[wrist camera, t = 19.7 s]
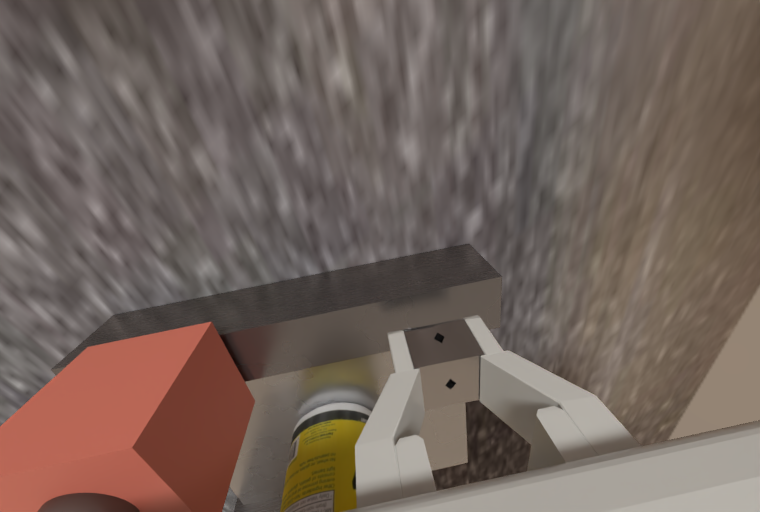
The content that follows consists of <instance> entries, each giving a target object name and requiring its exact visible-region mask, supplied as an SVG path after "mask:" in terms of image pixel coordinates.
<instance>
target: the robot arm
mask: <svg viewBox="0 0 760 512" xmlns="http://www.w3.org/2000/svg"><path fill="white" fill-rule="evenodd" d="M388 341H389V347H390V352H391V358H392V363H393V369H394V374H390V376H389V378H388V380H387V382H386V384H385V386H384V388H383V390H382V392H381V394H380V396H379V398H378V400H377V402H376V404H375V406H374V408H373V410H372V412H371V414H370V416H369V419H368V421H367V423H366V425H365V427H364V429H363V431H362V433H361V435H360V437H359V439H358V441H357V443H356V445H355V464H356V497H357V508H356V509H352V510H347V511H343V512H760V420H759V421H755V422H749V423H745V424H740V425H736V426H731V427H727V428H722V429H718V430H713V431H708V432H704V433H699V434H695V435H691V436H686V437H681V438H677V439H672V440H667V441H663V442H658V443H654V444H649V445H645V446H641V445H640V444H639V443H638V442H637V441H636V440H635V438H634V437H633V436H632V435H631V434H630V433H629V432H628V431H627V430H626V428H625V427H624V426H623V425H622V424H621V423H620V422H619V421H618V420H617V418H616V417H615V416H614V415H613V414H612V413H611V412H610V411H609V410H608V408H607V407H606V406H605V405H604V404H603V403H602V402H601V401H600V400H599V398H598V397H597V396H596V395H594V394H592V393H590V392H588V391H586V390H584V389H582V388H580V387H578V386H576V385H574V384H572V383H570V382H569V381H567V380H565V379H563V378H561V377H559V376H557V375H555V374H553V373H551V372H549V371H547V370H545V369H543V368H542V367H540V366H538V365H536V364H534V363H532V362H530V361H528V360H526V359H524V358H522V357H520V356H518V355H516V354H515V353H513V352H511V351H509V350H508V351H503V349H502V348H501V347H500V345H499V344H498V342H497V341H496V339H495V338H494V336H493V335H492V333H491V332H490V331H489V329H488V328H487V326H486V325H485V323H484V322H483V320H482V319H481V318H480V316H478V315H475V316H471V317H466V318H462V319H457V320H452V321H448V322H443V323H438V324H433V325H427V326H422V327H416V328H410V329H404V330H400V331H394V332H389V333H388ZM476 400H480V402H481V403H482V404H483V405H485V406H486V407H487V408H488V409H489V410H491V411H492V412H493V413H494V414H495V415H496V416H498V417H499V418H500V419H501V420H502V421H504V422H505V423H506V424H507V425H508V426H509V427H511V428H512V429H513V430H514V431H515V432H517V433H518V434H519V435H520V436H521V437H522V438H524V439H525V440H526V441H527V442H528V443H530V444H531V450H530V456H529V462H528V468H527V471H525V472H521V473H516V474H512V475H507V476H502V477H498V478H493V479H489V480H484V481H480V482H475V483H471V484H466V485H461V486H457V487H452V488H448V489H443V490H439V491H437V490H436V486H435V482H434V478H433V475H432V471H431V467H430V463H429V459H428V455H427V451H426V448H425V444H424V440H423V439H422V438H421V437H419V433H420V430H421V426H422V422H423V419H424V415H425V411H428V410H432V409H436V408H440V407H444V406H449V405H453V404H459V403H465V402H470V401H476Z"/></svg>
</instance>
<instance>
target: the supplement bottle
mask: <svg viewBox="0 0 760 512" xmlns="http://www.w3.org/2000/svg"><path fill="white" fill-rule="evenodd" d="M371 412H372V411H371V410H369V409H368V408H366V407H364V406H361V405H358V404H354V403H346V402H341V403H331V404H327V405H323V406H321V407H318V408H316V409H314V410H312V411H310V412H309V413H307V414H306V415H305V416H303V417H302V418H301V419H300V420H299V422H298V423H297V425H296V426H295V428H294V431H293V435H292V442H291V446H290V453H289V460H288V466H287V472H286V478H285V485H284V491H283V497H282V504H281V510H280V512H343V511H347V510H352V509H356V508H357V497H356V464H355V445H356V443H357V441H358V439H359V437H360V435H361V433H362V431H363V429H364V427H365V425H366V423H367V421H368V419H369V416H370V414H371Z"/></svg>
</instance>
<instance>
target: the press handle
mask: <svg viewBox="0 0 760 512" xmlns="http://www.w3.org/2000/svg"><path fill="white" fill-rule="evenodd" d="M254 404H255V399H254V398H253V396H252V394H251V392H250V390H249V389H248V387H247V385H246V383H245V381H244V379H243V378H242V376H241V374H240V372H239V370H238V368H237V367H236V365H235V363H234V361H233V359H232V358H231V356H230V354H229V352H228V350H227V348H226V347H225V345H224V343H223V341H222V339H221V338H220V336H219V334H218V332H217V330H216V328H215V327H214V325H213V323H212V322H207V323H202V324H198V325H193V326H188V327H183V328H178V329H173V330H168V331H163V332H158V333H154V334H149V335H144V336H139V337H134V338H129V339H124V340H119V341H114V342H110V343H105V344H100V345H95V346H90V347H87V348H86V349H85V350H84V351H83V352H82V353H81V354H79V355H78V356H77V357H76V358H75V359H74V360H73V361H72V362H71V363H70V364H68V365H67V366H66V367H65V368H64V369H63V370H62V371H61V372H60V373H59V374H57V375H56V376H55V377H54V378H53V379H52V380H51V381H50V382H49V383H48V384H46V385H45V386H44V387H43V388H42V389H41V390H40V391H39V392H38V393H37V394H35V395H34V396H33V397H32V398H31V399H30V400H29V401H28V402H27V403H26V404H24V405H23V406H22V407H21V408H20V409H19V410H18V411H17V412H16V413H15V414H13V415H12V416H11V417H10V418H9V419H8V420H7V421H6V422H5V423H4V424H2V425H1V426H0V512H222V509H223V506H224V503H225V499H226V496H227V493H228V489H229V486H230V483H231V479H232V476H233V473H234V470H235V466H236V463H237V460H238V456H239V453H240V450H241V446H242V443H243V440H244V437H245V433H246V430H247V427H248V423H249V420H250V417H251V414H252V410H253V407H254Z"/></svg>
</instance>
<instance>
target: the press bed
mask: <svg viewBox="0 0 760 512" xmlns="http://www.w3.org/2000/svg"><path fill="white" fill-rule="evenodd" d="M501 290H502V276H501V275H500V274H499V273H498V272H497V271H496V270H495V269H494V268H493V267H492V266H491V265H490V264H489V263H488V262H487V261H486V260H485V259H484V258H483V257H482V256H481V255H480V254H479V253H478V252H477V251H476V250H475V249H474V248H473V247H472V246H471V245H470V244H465V245H460V246H455V247H450V248H445V249H440V250H435V251H430V252H425V253H420V254H415V255H410V256H405V257H400V258H395V259H390V260H385V261H381V262H376V263H371V264H366V265H361V266H356V267H351V268H346V269H341V270H336V271H331V272H326V273H321V274H316V275H311V276H306V277H301V278H296V279H291V280H286V281H281V282H276V283H271V284H266V285H261V286H256V287H251V288H246V289H241V290H237V291H232V292H227V293H222V294H217V295H212V296H207V297H202V298H197V299H192V300H187V301H182V302H177V303H172V304H167V305H162V306H157V307H152V308H147V309H142V310H137V311H132V312H127V313H122V314H117V315H113V316H112V317H111V318H110V319H108V320H107V321H106V322H105V323H104V324H103V325H102V326H100V327H99V328H98V329H97V330H96V331H95V332H94V333H92V334H91V335H90V336H89V337H88V338H87V339H86V340H84V341H83V342H82V343H81V344H80V345H79V346H78V347H76V348H75V349H74V350H73V351H72V352H71V353H69V354H68V355H67V356H66V357H65V358H64V359H63V360H61V361H60V362H59V363H58V364H57V365H56V366H55V367H53V368H52V369H51V370H52V371H53V373H54V374H55V375H57V374H59V373H60V372H61V371H62V370H63V369H64V368H65V367H66V366H67V365H68V364H70V363H71V362H72V361H73V360H74V359H75V358H76V357H77V356H78V355H79V354H81V353H82V352H83V351H84V350H85V349H86V348H87V347H90V346H95V345H100V344H105V343H110V342H114V341H119V340H124V339H129V338H134V337H139V336H144V335H149V334H154V333H158V332H163V331H168V330H173V329H178V328H183V327H188V326H193V325H198V324H202V323H207V322H212V323H213V325H214V327H215V328H216V330H217V332H218V334H219V336H220V338H221V339H222V341H223V343H224V345H225V347H226V348H227V350H228V352H229V354H230V356H231V358H232V359H233V361H234V363H235V365H236V367H237V368H238V370H239V372H240V374H241V376H242V378H243V379H244V381H245V383H246V385H247V387H248V389H249V390H250V392H251V394H252V396H253V398H254V399H255V404H254V407H253V410H252V414H251V417H250V420H249V423H248V427H247V430H246V433H245V437H244V440H243V443H242V446H241V450H240V453H239V456H238V460H237V463H236V466H235V470H234V473H233V476H232V479H231V483H230V486H229V487H230V488H231V489H232V490H233V492H234V493H235V494H236V496H237V497H238V499H237V502H236V506H235V510H234V512H280V510H281V504H282V497H283V491H284V485H285V478H286V472H287V466H288V460H289V453H290V446H291V442H292V435H293V431H294V428H295V426H296V425H297V423H298V422H299V420H300V419H301V418H302V417H303V416H305V415H306V414H307V413H309V412H310V411H312V410H314V409H316V408H318V407H321V406H323V405H327V404H331V403H341V402H346V403H354V404H358V405H361V406H364V407H366V408H368V409H369V410H371V411H372V410H373V408H374V406H375V404H376V402H377V400H378V398H379V396H380V394H381V392H382V390H383V388H384V386H385V384H386V382H387V380H388V378H389V376H390V374H394V369H393V363H392V358H391V352H390V347H389V341H388V333H389V332H394V331H400V330H404V329H410V328H416V327H422V326H427V325H433V324H438V323H443V322H448V321H452V320H457V319H462V318H466V317H471V316H475V315H478V316H480V318H481V319H482V320H483V322H484V323H485V325H486V326H487V328H488V329H489V330H490V329H495V328H500V316H501ZM419 437H421V438H422V439H423V440H424V444H425V448H426V451H427V455H428V459H429V463H430V467H431V471H433V470H438V469H442V468H446V467H451V466H455V465H460V464H464V463H468V455H467V430H466V404H465V403H459V404H453V405H449V406H444V407H440V408H436V409H432V410H428V411H425V415H424V419H423V422H422V426H421V430H420V433H419Z"/></svg>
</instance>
